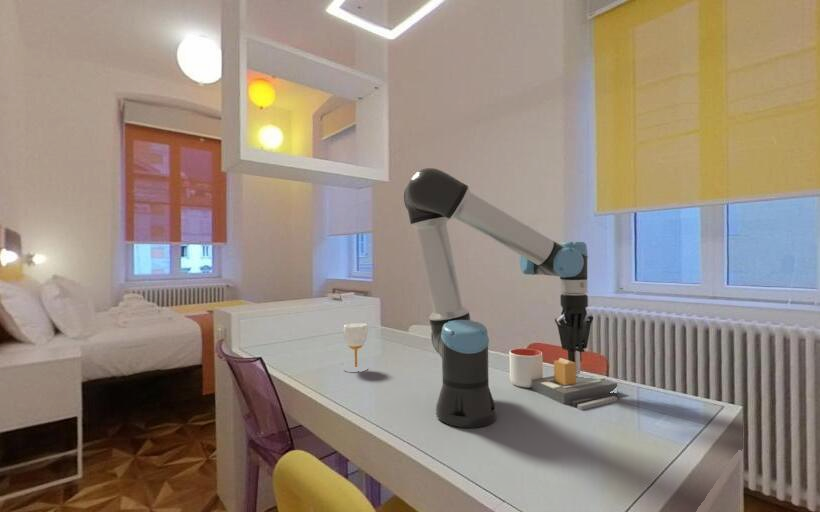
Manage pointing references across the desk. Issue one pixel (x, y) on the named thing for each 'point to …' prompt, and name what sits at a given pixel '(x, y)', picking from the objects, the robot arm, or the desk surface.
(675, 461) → the desk surface
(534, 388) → the box
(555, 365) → the breaker toggle
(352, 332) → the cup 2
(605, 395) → the black bar
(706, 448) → the desk surface
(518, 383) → the cup
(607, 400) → the cord grey
